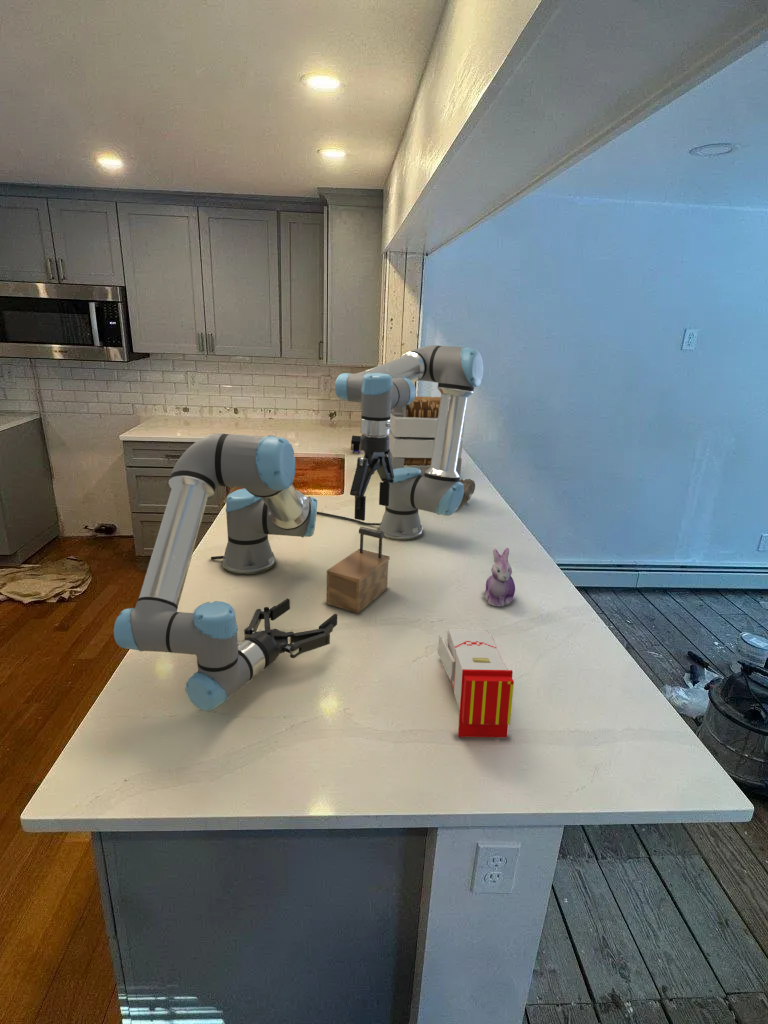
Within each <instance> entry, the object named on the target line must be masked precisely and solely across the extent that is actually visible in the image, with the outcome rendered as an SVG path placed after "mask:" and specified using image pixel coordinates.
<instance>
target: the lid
mask: <svg viewBox="0 0 768 1024" xmlns="http://www.w3.org/2000/svg"><path fill="white" fill-rule="evenodd" d="M358 534H359V535H360V536H359V548H358V549H357V550H355V551H354V552H352V553H350V554H349V555H348V556H346V557H345V558H343V559H341V560H340V561H339V562H337V563H335V564H334V565H332V566H331V567H330V568H328V569H326V575H327V574H329V575H333V576H336V577H340V578H343V579H347V580H350V581H354V582H357V583H360V582H361V581H362V580H364V579H365V578H366V577H368V576H369V575H370V574H371V573H373V572H374V571H375V570H377V569H378V568H379V567H381V566H382V565H383V564H384V563H386V562H387V561H388V562H389V561H390V559H391V558H390V556H389V555H386V554H383V539H384V538H385V537H384V532H382V531H379V529H378V530H377V529H373V528H369V527H364V526H360V527H359V528H358ZM365 536H367V537H371V538H375V539H378V552H375V551H370V550H367V549H364V537H365Z"/></svg>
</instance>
